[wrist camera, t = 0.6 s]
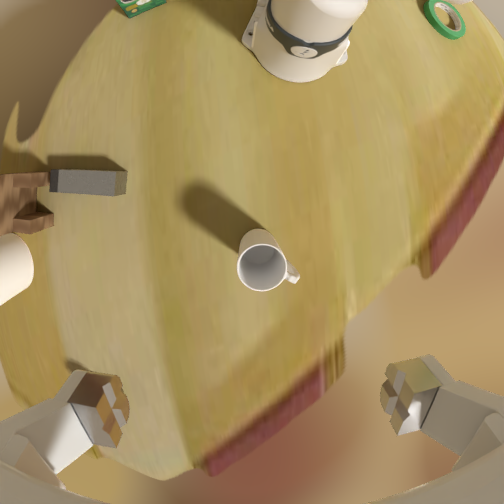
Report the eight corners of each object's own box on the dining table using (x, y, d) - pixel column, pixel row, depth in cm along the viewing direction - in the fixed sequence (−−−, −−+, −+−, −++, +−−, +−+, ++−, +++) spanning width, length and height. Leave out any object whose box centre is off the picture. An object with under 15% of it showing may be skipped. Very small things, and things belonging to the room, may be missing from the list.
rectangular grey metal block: (65, 168, 46) (50, 169, 42) (127, 171, 47) (116, 171, 42) (63, 189, 47) (49, 191, 43) (125, 193, 48) (114, 196, 43)
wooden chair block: (33, 171, 46) (-5, 175, 34) (55, 171, 46) (17, 174, 35) (32, 223, 49) (-4, 235, 37) (53, 225, 49) (17, 239, 38)
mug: (231, 254, 52) (228, 278, 40) (248, 220, 50) (250, 234, 39) (282, 278, 53) (293, 307, 42) (300, 245, 52) (316, 267, 40)
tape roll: (463, 24, 39) (469, 21, 36) (454, 48, 41) (461, 45, 38) (429, -6, 37) (434, -11, 34) (417, 15, 39) (423, 11, 37)
